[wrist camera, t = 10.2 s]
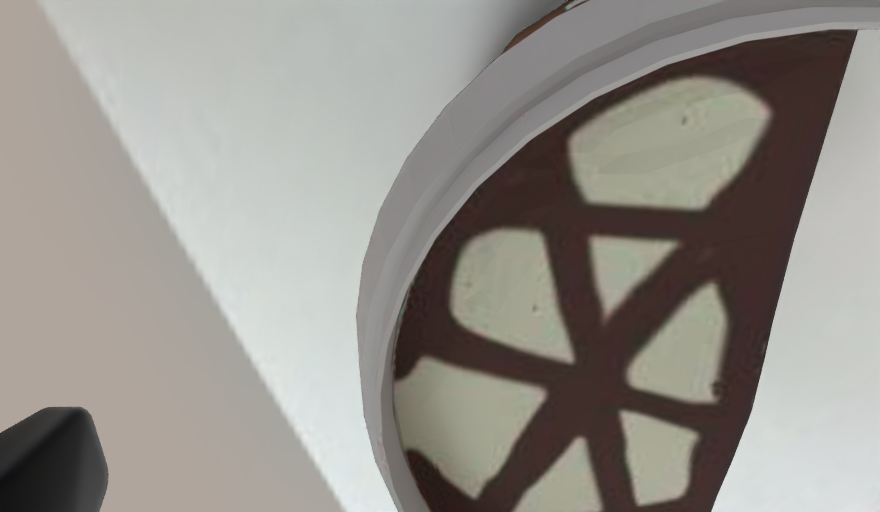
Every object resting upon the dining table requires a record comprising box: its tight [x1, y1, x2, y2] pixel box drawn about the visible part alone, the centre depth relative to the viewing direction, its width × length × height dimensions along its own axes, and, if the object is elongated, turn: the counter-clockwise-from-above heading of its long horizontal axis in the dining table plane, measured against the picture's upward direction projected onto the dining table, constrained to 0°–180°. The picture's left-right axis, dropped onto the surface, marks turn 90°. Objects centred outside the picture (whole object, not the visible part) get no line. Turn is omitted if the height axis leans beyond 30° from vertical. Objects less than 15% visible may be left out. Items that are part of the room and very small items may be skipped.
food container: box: [356, 0, 880, 512], centre depth 16 cm, size 12×6×10 cm, turn 176°
